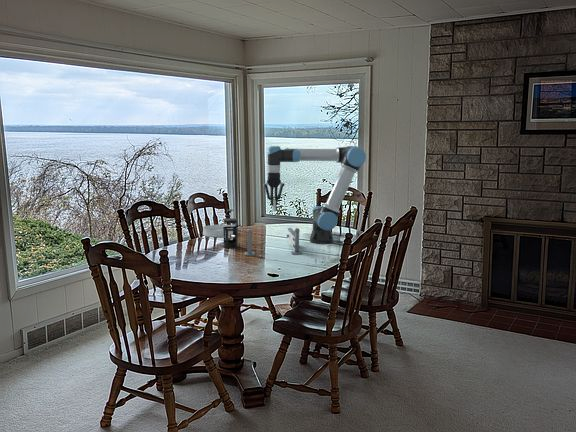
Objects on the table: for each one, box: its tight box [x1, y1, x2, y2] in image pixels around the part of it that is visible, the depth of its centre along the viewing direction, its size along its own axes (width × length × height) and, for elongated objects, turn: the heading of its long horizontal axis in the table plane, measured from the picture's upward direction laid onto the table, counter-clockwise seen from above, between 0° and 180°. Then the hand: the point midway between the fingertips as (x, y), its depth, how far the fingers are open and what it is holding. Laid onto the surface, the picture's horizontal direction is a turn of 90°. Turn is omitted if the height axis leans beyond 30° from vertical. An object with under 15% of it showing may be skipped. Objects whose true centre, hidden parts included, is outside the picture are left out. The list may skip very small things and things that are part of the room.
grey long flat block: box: [286, 227, 295, 251], centre depth 323 cm, size 23×3×9 cm, turn 10°
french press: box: [222, 209, 239, 249], centre depth 327 cm, size 12×9×23 cm
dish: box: [202, 224, 233, 238], centre depth 367 cm, size 22×22×5 cm
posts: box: [243, 227, 304, 257], centre depth 308 cm, size 34×6×15 cm, turn 96°
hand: (273, 210), depth 324 cm, fingers closed
